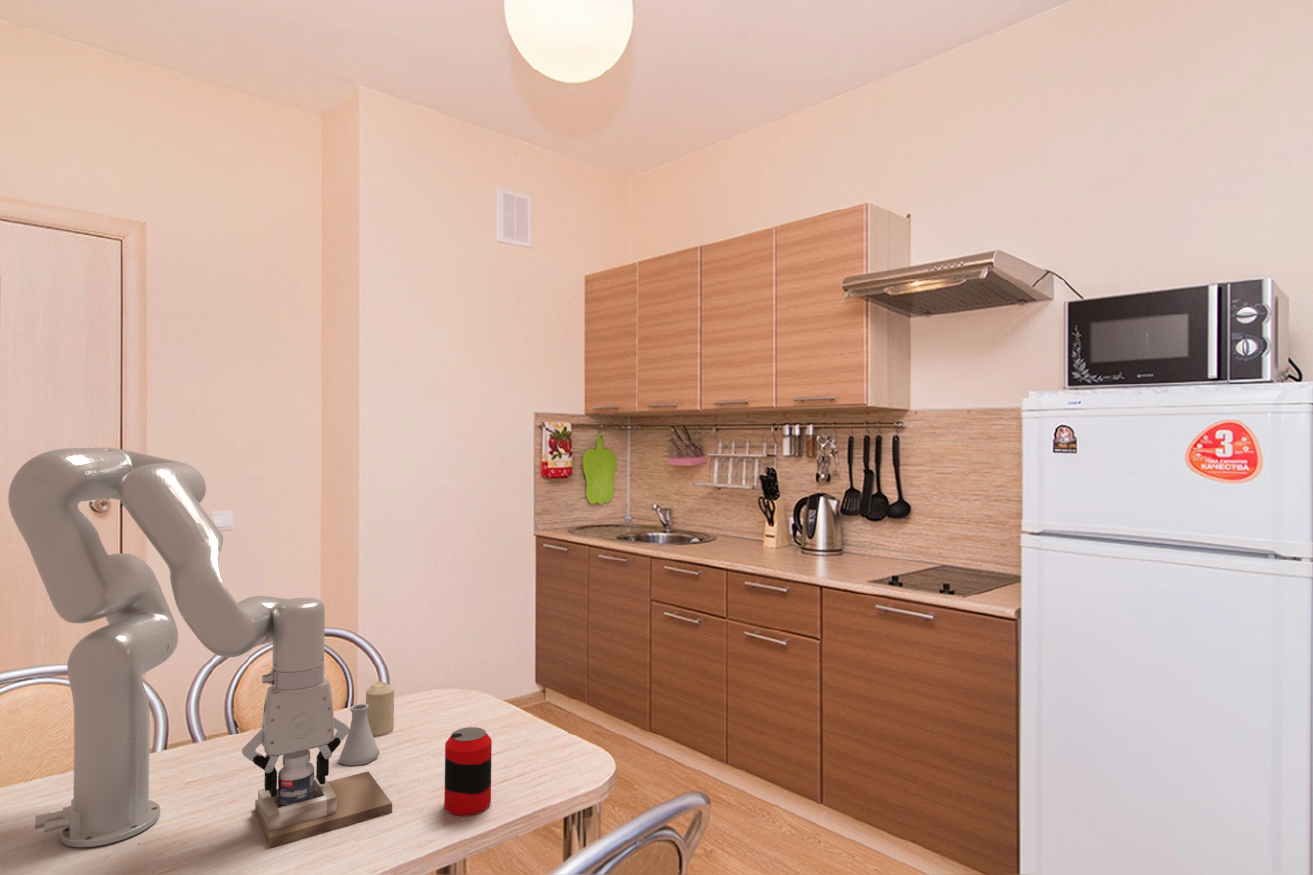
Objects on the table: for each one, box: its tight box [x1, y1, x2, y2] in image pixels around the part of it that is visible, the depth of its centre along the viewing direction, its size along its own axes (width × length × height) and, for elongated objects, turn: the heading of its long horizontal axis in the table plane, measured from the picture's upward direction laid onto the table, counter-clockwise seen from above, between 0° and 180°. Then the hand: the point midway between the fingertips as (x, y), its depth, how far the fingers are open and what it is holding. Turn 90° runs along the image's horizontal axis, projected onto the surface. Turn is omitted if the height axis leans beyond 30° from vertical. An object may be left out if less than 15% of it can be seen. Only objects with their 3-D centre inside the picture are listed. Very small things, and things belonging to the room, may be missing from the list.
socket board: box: [254, 771, 393, 849], centre depth 120 cm, size 18×14×4 cm
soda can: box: [443, 726, 493, 817], centre depth 122 cm, size 8×8×12 cm
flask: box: [337, 703, 380, 766], centre depth 140 cm, size 7×7×10 cm
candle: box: [365, 681, 395, 737], centre depth 153 cm, size 6×6×10 cm
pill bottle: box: [277, 749, 315, 808], centre depth 118 cm, size 5×5×9 cm
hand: (297, 786), depth 118 cm, fingers open, 6 cm apart
